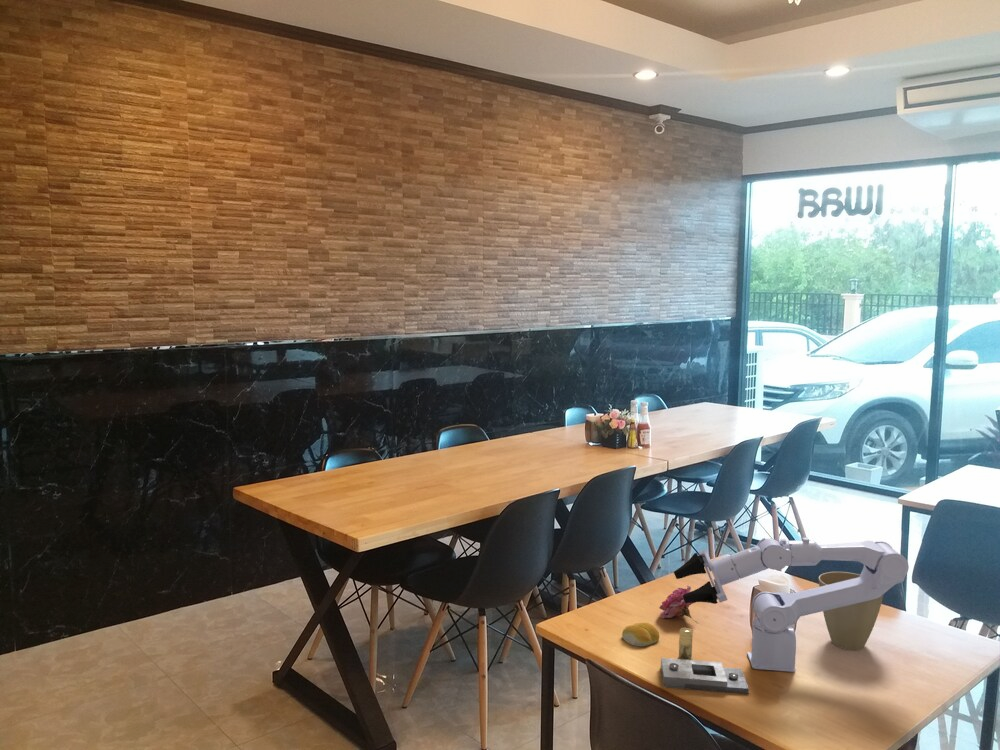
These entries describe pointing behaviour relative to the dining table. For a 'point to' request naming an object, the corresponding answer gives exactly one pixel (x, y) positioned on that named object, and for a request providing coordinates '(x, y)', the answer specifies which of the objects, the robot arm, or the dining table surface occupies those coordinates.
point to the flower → (676, 604)
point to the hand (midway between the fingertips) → (679, 587)
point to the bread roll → (640, 634)
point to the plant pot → (850, 616)
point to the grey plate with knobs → (702, 676)
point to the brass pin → (685, 643)
